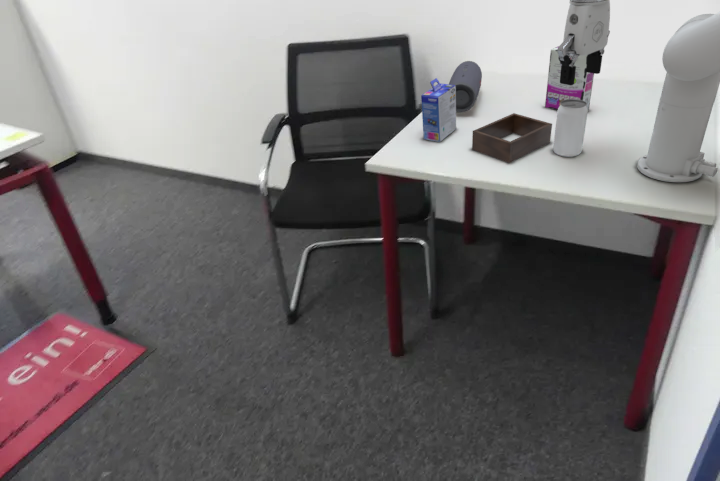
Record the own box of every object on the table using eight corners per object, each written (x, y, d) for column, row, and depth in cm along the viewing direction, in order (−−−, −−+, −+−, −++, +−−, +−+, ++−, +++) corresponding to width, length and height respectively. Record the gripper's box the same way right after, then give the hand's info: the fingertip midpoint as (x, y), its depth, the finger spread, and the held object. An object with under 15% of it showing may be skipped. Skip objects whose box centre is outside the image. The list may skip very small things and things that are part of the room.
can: (583, 157, 125) (590, 107, 119) (554, 157, 127) (560, 108, 120) (579, 146, 130) (586, 98, 124) (551, 146, 132) (557, 98, 125)
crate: (550, 142, 133) (552, 123, 131) (509, 163, 126) (510, 143, 123) (512, 131, 141) (513, 113, 139) (471, 149, 134) (472, 130, 131)
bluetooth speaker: (477, 117, 152) (478, 82, 146) (444, 116, 154) (444, 82, 149) (482, 90, 170) (484, 58, 165) (453, 90, 172) (453, 59, 167)
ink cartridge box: (438, 126, 149) (438, 73, 141) (456, 129, 146) (457, 75, 138) (421, 139, 142) (420, 85, 134) (440, 142, 139) (439, 87, 131)
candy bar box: (589, 110, 149) (599, 49, 140) (580, 115, 146) (589, 54, 137) (553, 102, 156) (560, 44, 147) (543, 107, 154) (550, 48, 145)
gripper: (581, 3, 103) (571, 91, 112) (630, -13, 111) (617, 71, 120) (547, 1, 108) (541, 85, 117) (597, -14, 116) (587, 66, 125)
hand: (580, 78), depth 119 cm, fingers open, 9 cm apart
